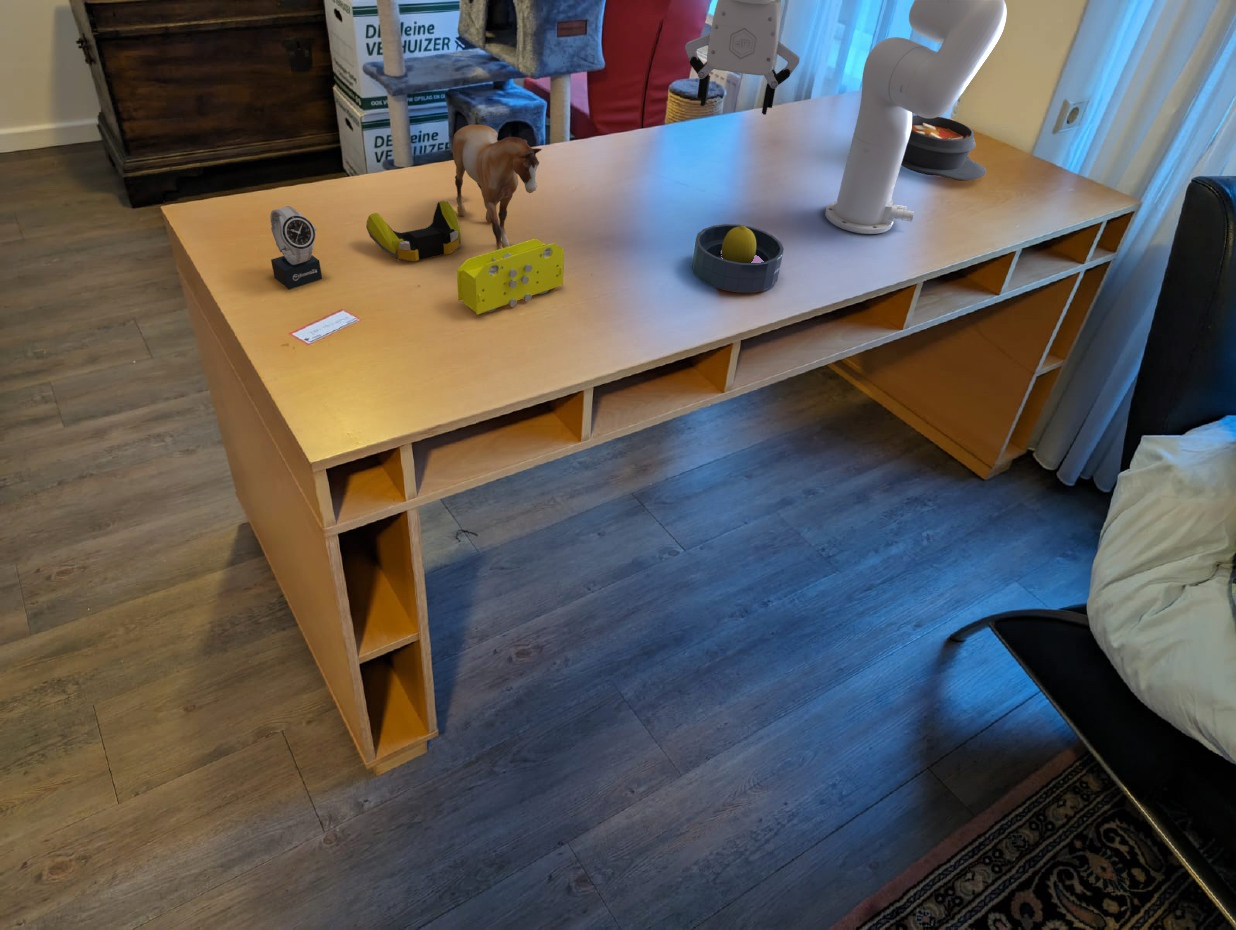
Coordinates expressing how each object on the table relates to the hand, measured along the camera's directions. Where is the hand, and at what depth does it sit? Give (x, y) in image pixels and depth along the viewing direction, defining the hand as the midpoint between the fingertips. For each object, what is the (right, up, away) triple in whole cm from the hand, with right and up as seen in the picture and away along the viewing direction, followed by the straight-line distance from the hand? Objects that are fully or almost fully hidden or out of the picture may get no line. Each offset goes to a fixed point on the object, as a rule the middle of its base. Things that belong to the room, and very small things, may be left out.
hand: (733, 107), depth 137 cm
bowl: (+1, -24, +8) cm, 26 cm away
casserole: (+48, +8, +52) cm, 72 cm away
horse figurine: (-38, -16, +13) cm, 43 cm away
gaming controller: (-51, -20, +7) cm, 55 cm away
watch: (-67, -28, -3) cm, 72 cm away
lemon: (+1, -24, +8) cm, 25 cm away
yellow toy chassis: (-34, -30, -3) cm, 46 cm away
